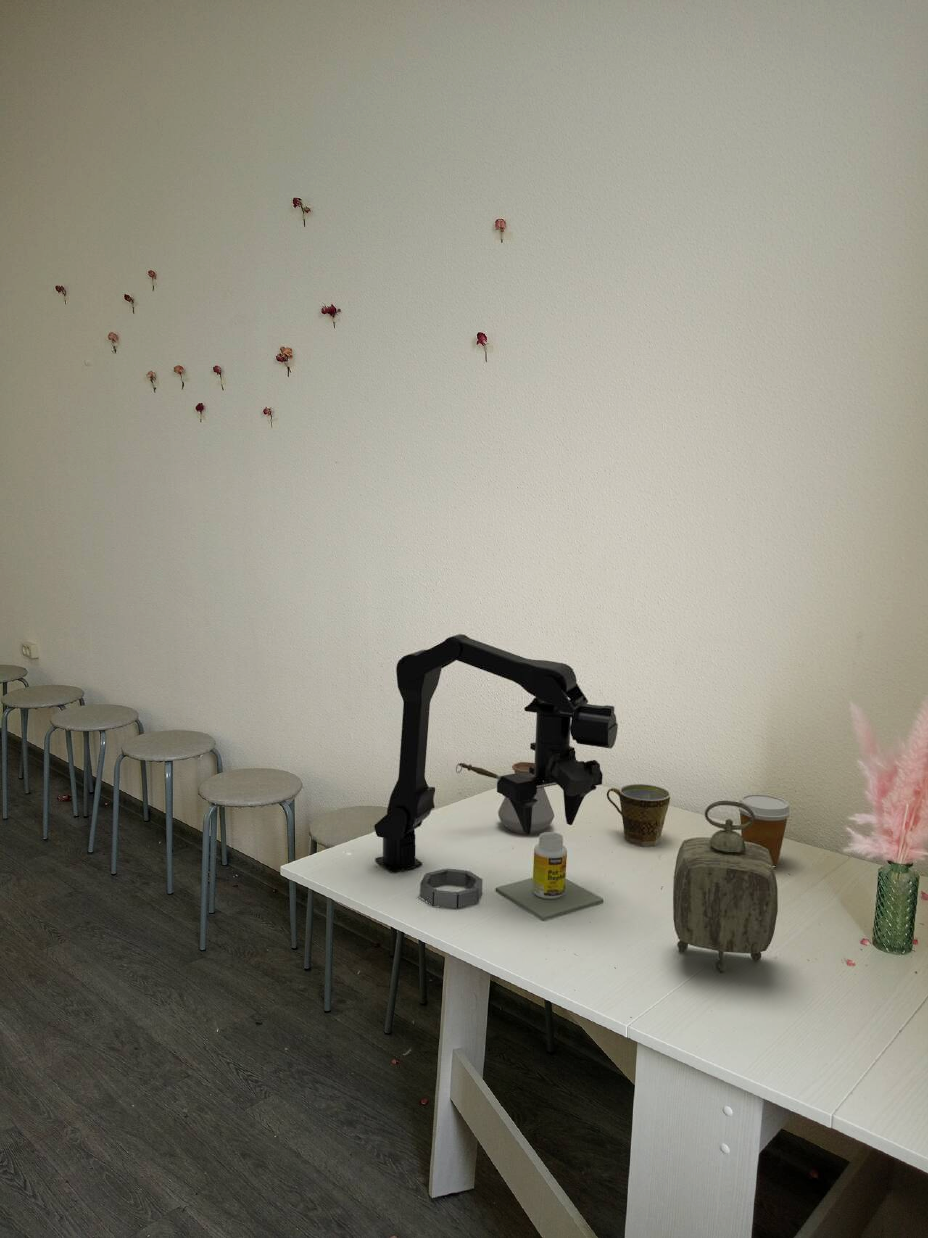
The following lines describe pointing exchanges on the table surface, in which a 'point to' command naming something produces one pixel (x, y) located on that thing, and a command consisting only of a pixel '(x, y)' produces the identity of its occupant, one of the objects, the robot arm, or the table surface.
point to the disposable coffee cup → (765, 822)
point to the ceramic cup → (642, 812)
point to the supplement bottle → (549, 866)
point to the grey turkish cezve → (507, 814)
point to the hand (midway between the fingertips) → (548, 829)
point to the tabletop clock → (725, 892)
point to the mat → (549, 908)
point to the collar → (447, 897)
